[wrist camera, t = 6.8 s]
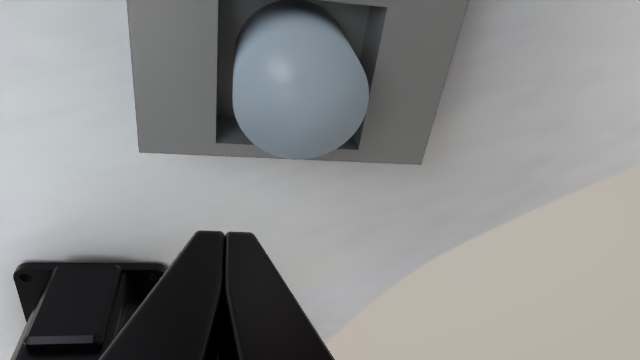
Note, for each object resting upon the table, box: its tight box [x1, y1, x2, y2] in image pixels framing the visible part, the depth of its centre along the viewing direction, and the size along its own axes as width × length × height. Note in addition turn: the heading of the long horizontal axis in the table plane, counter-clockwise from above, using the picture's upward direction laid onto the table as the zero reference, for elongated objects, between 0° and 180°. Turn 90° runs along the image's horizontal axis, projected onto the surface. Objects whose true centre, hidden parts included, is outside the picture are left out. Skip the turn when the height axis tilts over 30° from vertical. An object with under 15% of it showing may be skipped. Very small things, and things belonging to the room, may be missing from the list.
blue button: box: [232, 0, 369, 159], centre depth 16 cm, size 4×4×4 cm
